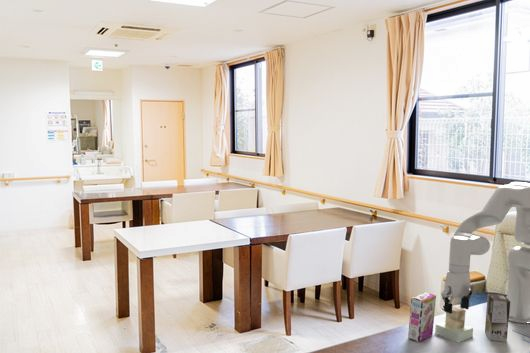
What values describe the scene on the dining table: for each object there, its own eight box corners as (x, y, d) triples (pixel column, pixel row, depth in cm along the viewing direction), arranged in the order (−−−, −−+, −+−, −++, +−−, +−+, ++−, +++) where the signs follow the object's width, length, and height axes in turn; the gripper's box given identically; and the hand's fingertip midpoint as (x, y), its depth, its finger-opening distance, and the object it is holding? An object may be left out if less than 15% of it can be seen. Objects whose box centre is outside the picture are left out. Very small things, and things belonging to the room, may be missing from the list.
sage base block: (450, 328, 203) (450, 319, 203) (472, 337, 195) (473, 327, 195) (435, 334, 198) (435, 324, 197) (457, 343, 190) (458, 333, 189)
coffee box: (507, 342, 191) (511, 301, 189) (489, 340, 192) (493, 299, 191) (501, 333, 200) (504, 294, 198) (484, 331, 201) (487, 292, 200)
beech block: (453, 322, 199) (455, 305, 199) (464, 327, 195) (465, 310, 194) (445, 324, 197) (446, 307, 196) (455, 329, 193) (456, 312, 192)
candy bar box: (419, 343, 187) (422, 301, 186) (407, 338, 191) (410, 297, 189) (433, 335, 195) (436, 294, 194) (421, 331, 199) (424, 291, 197)
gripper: (465, 262, 201) (463, 303, 203) (436, 268, 193) (433, 310, 195) (481, 267, 195) (479, 309, 197) (451, 273, 186) (449, 317, 188)
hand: (456, 310), depth 196 cm, fingers open, 9 cm apart
